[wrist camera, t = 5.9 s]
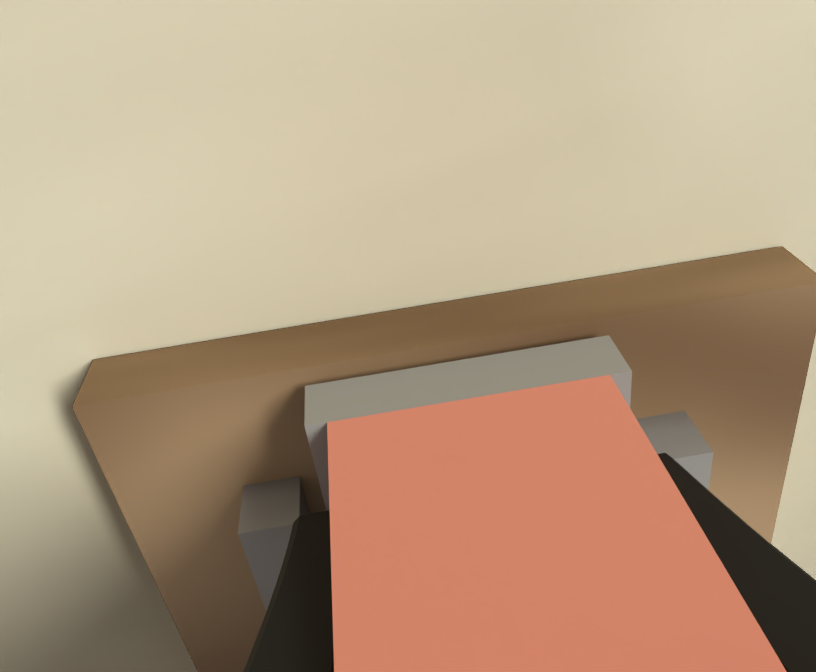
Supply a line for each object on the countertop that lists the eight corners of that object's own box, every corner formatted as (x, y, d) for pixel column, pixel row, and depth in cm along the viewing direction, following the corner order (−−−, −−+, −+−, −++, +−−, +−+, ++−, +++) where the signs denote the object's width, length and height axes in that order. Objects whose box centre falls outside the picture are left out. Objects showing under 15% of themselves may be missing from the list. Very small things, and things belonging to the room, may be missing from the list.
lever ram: (603, 527, 13) (770, 903, 8) (351, 571, 13) (374, 978, 8) (609, 335, 11) (842, 698, 6) (304, 385, 10) (299, 796, 6)
